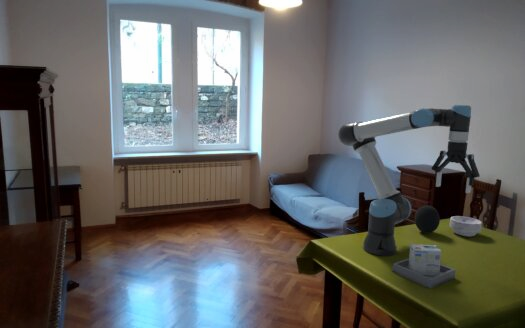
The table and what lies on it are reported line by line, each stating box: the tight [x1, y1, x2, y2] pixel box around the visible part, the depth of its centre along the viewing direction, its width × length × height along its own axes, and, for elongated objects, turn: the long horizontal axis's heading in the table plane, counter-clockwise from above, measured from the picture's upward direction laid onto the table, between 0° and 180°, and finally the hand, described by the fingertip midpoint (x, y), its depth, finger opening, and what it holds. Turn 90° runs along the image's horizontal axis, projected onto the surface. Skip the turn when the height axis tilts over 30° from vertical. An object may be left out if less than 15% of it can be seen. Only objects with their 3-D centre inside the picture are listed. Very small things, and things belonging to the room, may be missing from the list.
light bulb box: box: [408, 243, 442, 276], centre depth 157 cm, size 11×7×11 cm, turn 85°
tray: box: [392, 257, 456, 289], centre depth 158 cm, size 17×17×4 cm
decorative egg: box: [414, 204, 441, 234], centre depth 208 cm, size 12×12×15 cm
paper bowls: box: [449, 215, 483, 238], centre depth 209 cm, size 15×15×8 cm
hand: (452, 189), depth 171 cm, fingers open, 13 cm apart
